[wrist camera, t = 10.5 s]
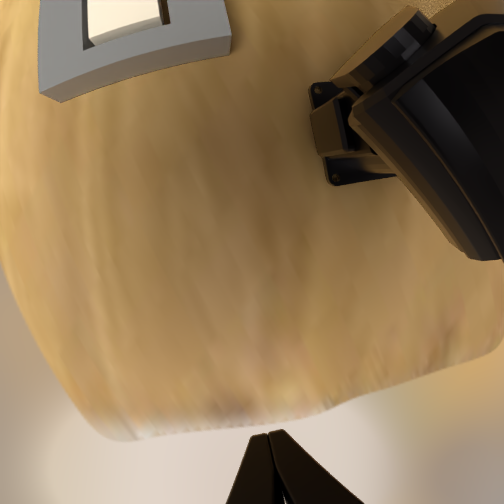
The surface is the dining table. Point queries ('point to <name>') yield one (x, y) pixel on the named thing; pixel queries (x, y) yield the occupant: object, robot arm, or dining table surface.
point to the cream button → (121, 18)
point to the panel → (123, 45)
